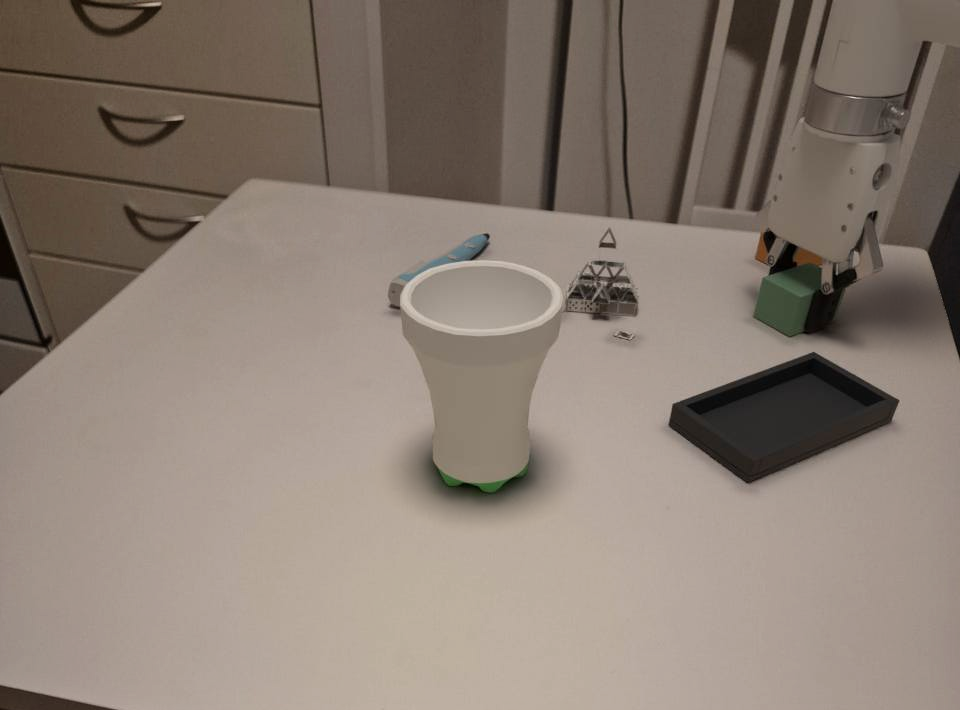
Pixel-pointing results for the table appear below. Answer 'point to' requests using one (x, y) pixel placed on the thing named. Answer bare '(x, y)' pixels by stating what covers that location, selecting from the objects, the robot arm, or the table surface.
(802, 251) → the block orange
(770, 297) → the green block
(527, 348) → the cup
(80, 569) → the table surface
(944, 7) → the robot arm
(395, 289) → the blue elongated piece
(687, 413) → the tray
